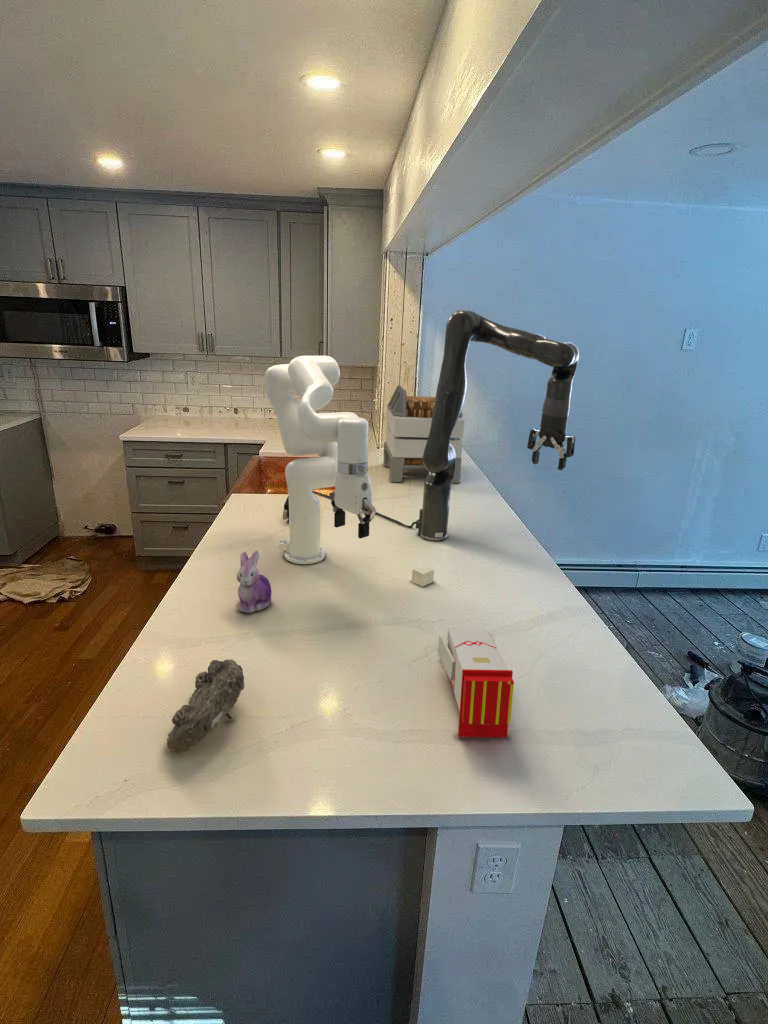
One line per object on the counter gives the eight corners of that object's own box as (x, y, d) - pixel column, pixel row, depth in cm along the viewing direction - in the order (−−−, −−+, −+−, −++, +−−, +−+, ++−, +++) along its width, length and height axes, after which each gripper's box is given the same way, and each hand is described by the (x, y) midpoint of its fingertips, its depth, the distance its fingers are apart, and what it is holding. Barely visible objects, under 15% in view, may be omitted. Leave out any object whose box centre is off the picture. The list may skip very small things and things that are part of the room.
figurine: (241, 617, 142) (239, 563, 137) (232, 599, 151) (229, 547, 146) (278, 610, 146) (277, 557, 141) (266, 592, 155) (265, 542, 150)
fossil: (192, 660, 117) (244, 628, 112) (224, 691, 120) (276, 661, 115) (142, 746, 98) (202, 712, 93) (182, 779, 101) (242, 748, 96)
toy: (488, 613, 130) (523, 677, 101) (484, 667, 133) (517, 744, 104) (435, 612, 130) (455, 676, 101) (432, 666, 133) (451, 743, 103)
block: (433, 582, 166) (434, 569, 164) (422, 586, 163) (423, 574, 161) (422, 577, 169) (423, 564, 167) (411, 581, 165) (412, 569, 164)
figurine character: (300, 529, 203) (305, 510, 217) (300, 510, 200) (305, 492, 213) (282, 528, 203) (287, 510, 216) (281, 509, 200) (287, 492, 213)
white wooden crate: (382, 463, 289) (386, 382, 275) (445, 464, 293) (451, 384, 279) (390, 482, 257) (394, 392, 243) (460, 483, 261) (468, 394, 247)
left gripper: (387, 472, 138) (384, 538, 143) (342, 458, 150) (341, 519, 155) (363, 477, 133) (361, 545, 139) (319, 462, 145) (319, 525, 150)
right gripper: (584, 415, 164) (575, 469, 170) (540, 408, 174) (533, 459, 179) (571, 418, 159) (562, 474, 165) (527, 410, 169) (520, 463, 174)
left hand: (351, 531), depth 147 cm, fingers open, 9 cm apart
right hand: (547, 466), depth 172 cm, fingers open, 8 cm apart
